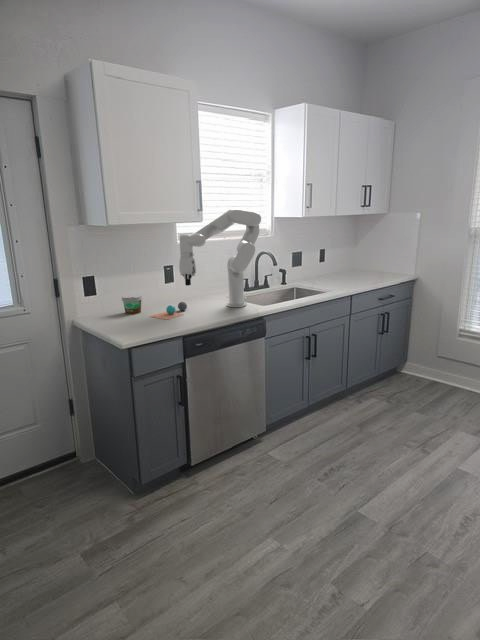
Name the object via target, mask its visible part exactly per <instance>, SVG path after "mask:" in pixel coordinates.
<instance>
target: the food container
mask: <svg viewBox="0 0 480 640" xmlns="http://www.w3.org/2000/svg"><path fill="white" fill-rule="evenodd" d="M142 300H143V297H142V296H139V297H138V296H137V297H134V296H132V297H130V296H129V297H124V296H122V297H121V301H122V303H123V308H124V311H125V312H124V314H126V315H139V314H140V313H142Z"/></svg>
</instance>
